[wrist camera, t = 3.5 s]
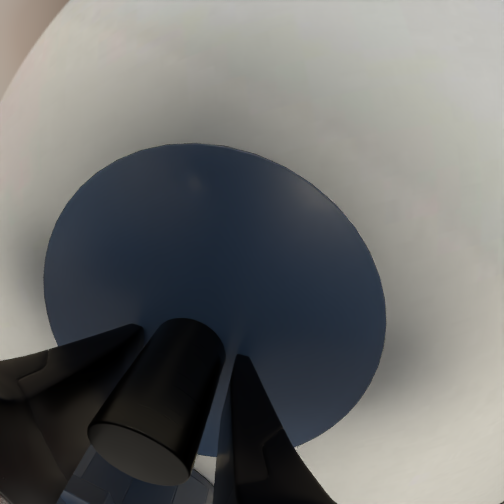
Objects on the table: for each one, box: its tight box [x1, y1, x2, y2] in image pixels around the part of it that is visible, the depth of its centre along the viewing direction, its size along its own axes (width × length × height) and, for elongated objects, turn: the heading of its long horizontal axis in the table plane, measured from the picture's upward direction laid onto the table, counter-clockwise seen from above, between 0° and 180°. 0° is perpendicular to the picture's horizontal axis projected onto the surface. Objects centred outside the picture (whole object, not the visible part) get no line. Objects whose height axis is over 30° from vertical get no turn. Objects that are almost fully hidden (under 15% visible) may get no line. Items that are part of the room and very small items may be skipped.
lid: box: [43, 143, 386, 486], centre depth 7 cm, size 12×12×6 cm
